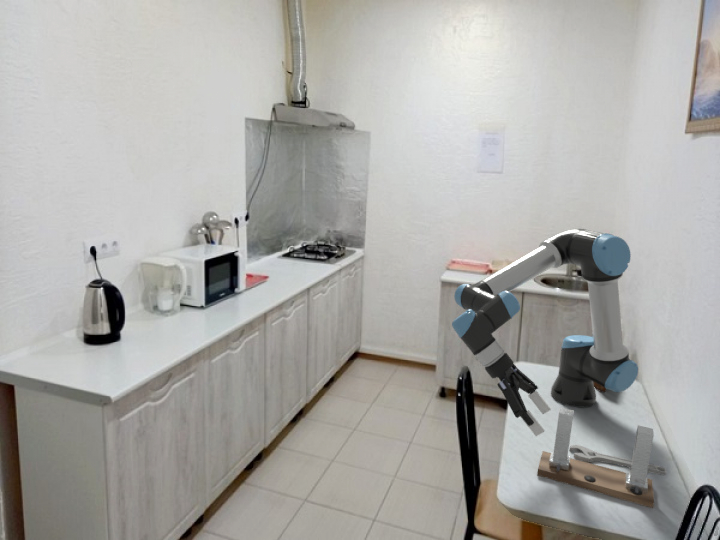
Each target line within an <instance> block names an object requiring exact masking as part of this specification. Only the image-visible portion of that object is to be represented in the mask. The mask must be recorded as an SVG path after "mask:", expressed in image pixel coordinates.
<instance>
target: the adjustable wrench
mask: <svg viewBox="0 0 720 540" xmlns="http://www.w3.org/2000/svg"><path fill="white" fill-rule="evenodd" d="M568 452H574V453H573V459H576V460H579V461H583V462H587V463H593V462H602V461H603V463H607V462H608V464H612V463H613V465H616V464H619V465H618V466H620V465H623V466H622V467H625V466H628V467H627V468H629V467H631V461H632V459H628V458H622V457H618V456H614V455H613V456H612V455H609V454H605V453H604V454H603V453H600V452H597V451H594V450H592V449H590V448H587V447H585V446H583V445H579V444H573V445H569V449H568ZM647 471H648V472H649V473H652V474H656V473H657V474H658V475H663V476H664V475H667V469H666V468H665V467H663V466H661V465H655V464H651V463H649V464H648V470H647ZM648 472H647V473H648Z"/></svg>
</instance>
